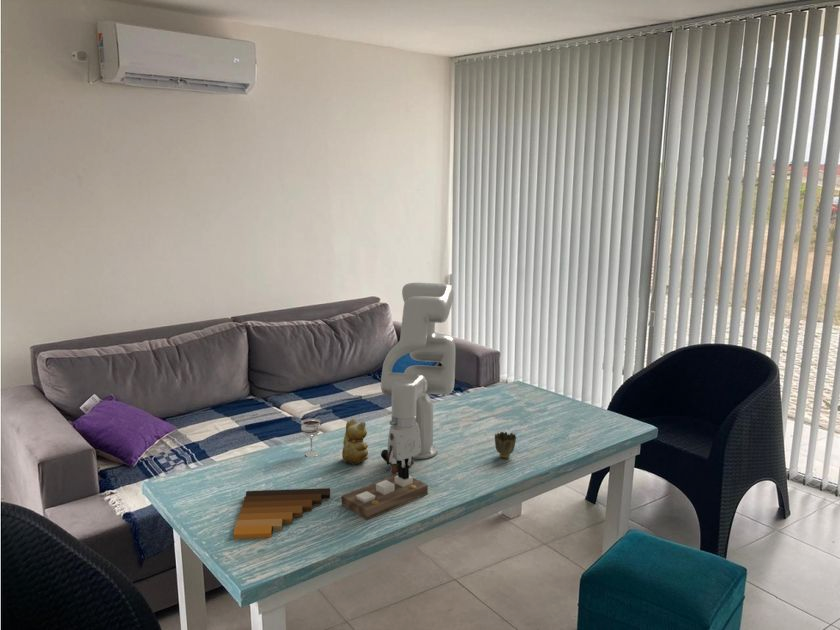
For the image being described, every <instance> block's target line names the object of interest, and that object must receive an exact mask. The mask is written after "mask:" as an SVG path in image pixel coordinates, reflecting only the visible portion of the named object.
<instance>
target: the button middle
mask: <svg viewBox="0 0 840 630" xmlns="http://www.w3.org/2000/svg"><path fill="white" fill-rule="evenodd" d="M376 491H377V492H379V493H381V494H383V495H386V494H388V493H391V492H393V491H395V484H393V483H391V482H389V481H387V480H385V481H382V482H379V483H377V484H376Z"/></svg>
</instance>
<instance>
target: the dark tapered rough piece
mask: <svg viewBox="0 0 840 630" xmlns="http://www.w3.org/2000/svg"><path fill="white" fill-rule="evenodd" d="M516 440H517V436H516V434H515V433H513V432H511V433H508V432H507V431H505V432H503V431H500V432H497V433H495V434H494V445H495V449H496V452H497V453H499V458H501V459H503V460H505V459H510V456H511V454H512V453H513V452H514V450H515V448H516V447H515V446H516V442H517V441H516Z"/></svg>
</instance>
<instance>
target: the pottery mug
mask: <svg viewBox="0 0 840 630" xmlns="http://www.w3.org/2000/svg"><path fill="white" fill-rule="evenodd" d="M380 456H381V458H382V459H383V461H385V464H386V465H387V466H391V470H390V473H391V474H392V475H393V476H394V475H396V474H398V465H397V464H391V463H389V460H390V457H389V456H388V449H383V450H382V451H381V453H380ZM413 465H415V462H414V460H413V459H412V460H411V465H410V466H409V469H411V467H412V466H413Z"/></svg>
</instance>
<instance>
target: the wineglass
mask: <svg viewBox="0 0 840 630" xmlns="http://www.w3.org/2000/svg"><path fill="white" fill-rule="evenodd" d="M300 423H301V428H300V430H301V432H302V434H303V435H305V436H307V437H309V439H310V440H309V441H310V451H307V452H305V453H306V454H305V453H304V456H305V455H306V456H307V458H314V456H315V457H318V456H319V455H318V453H319V452H317V451H313V438H314V436H317V435H318V434H319V433H320V431H321V429H322V428H321V427H322V426H321V424H320V423H321V420H320V419H319V418H314V417H313V418H305V419H303V420H301V422H300ZM306 456H305V457H306Z"/></svg>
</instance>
